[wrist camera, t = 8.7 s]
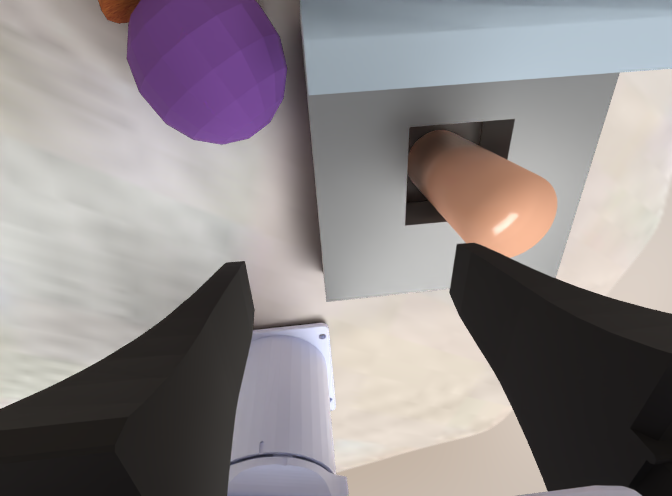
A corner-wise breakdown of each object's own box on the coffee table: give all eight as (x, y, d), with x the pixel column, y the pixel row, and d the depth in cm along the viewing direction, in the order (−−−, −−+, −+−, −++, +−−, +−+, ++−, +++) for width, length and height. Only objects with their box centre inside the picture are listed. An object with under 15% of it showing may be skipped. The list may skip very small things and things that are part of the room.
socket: (526, 253, 23) (607, 322, 17) (323, 273, 23) (332, 353, 17) (589, 3, 16) (759, -29, 10) (300, 21, 16) (300, -1, 10)
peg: (464, 186, 21) (547, 252, 14) (406, 194, 20) (461, 265, 14) (468, 125, 19) (566, 166, 12) (405, 134, 19) (467, 181, 12)
